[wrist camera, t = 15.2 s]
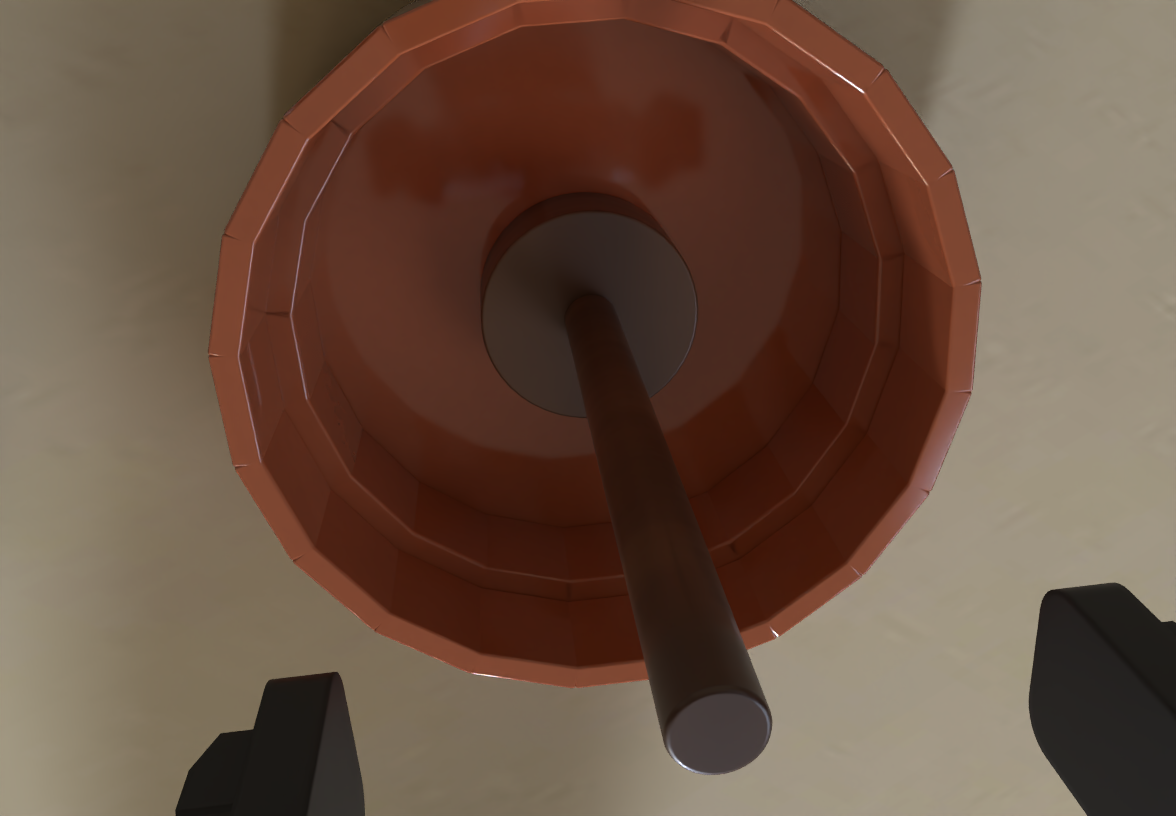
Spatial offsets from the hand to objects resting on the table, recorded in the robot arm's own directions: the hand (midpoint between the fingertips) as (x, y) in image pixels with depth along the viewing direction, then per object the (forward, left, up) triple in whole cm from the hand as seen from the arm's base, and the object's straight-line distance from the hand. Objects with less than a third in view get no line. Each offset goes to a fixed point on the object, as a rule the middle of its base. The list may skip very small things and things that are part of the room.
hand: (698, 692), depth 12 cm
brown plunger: (0, 0, -15) cm, 15 cm away
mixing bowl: (0, 0, -16) cm, 16 cm away
